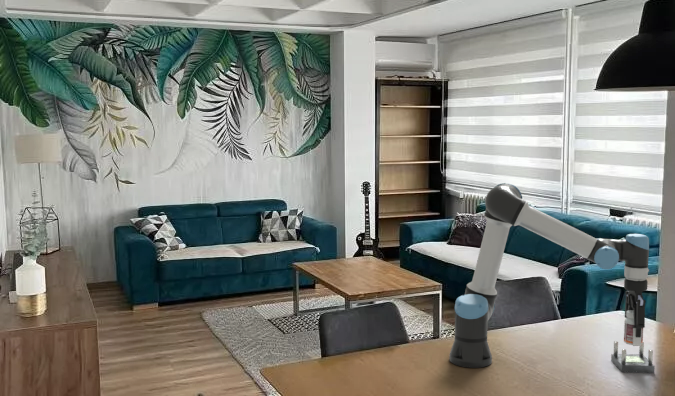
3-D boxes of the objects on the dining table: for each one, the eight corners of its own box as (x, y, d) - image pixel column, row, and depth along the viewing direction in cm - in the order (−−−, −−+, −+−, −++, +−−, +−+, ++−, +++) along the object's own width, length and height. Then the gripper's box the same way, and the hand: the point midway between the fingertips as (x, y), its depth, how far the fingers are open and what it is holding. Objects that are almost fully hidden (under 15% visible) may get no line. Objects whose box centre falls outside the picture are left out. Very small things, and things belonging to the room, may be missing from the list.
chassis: (621, 372, 248) (622, 351, 247) (611, 360, 260) (611, 340, 259) (654, 372, 247) (655, 351, 246) (642, 361, 259) (643, 341, 258)
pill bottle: (646, 345, 250) (647, 313, 249) (629, 346, 249) (630, 314, 248) (636, 340, 256) (637, 309, 255) (620, 340, 255) (621, 309, 254)
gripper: (657, 284, 240) (654, 351, 243) (637, 272, 259) (635, 334, 262) (634, 284, 241) (631, 351, 243) (616, 272, 260) (614, 334, 262)
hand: (633, 342), depth 252 cm, fingers closed on pill bottle, 6 cm apart
